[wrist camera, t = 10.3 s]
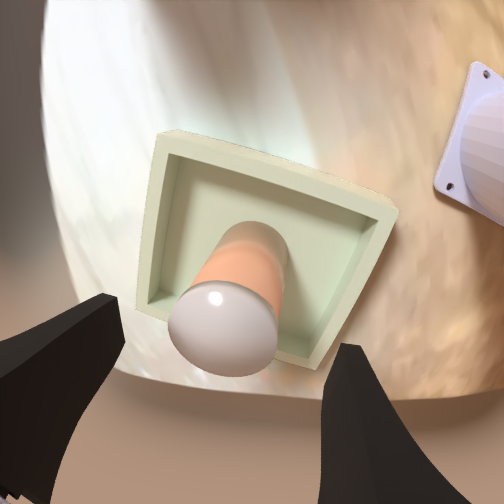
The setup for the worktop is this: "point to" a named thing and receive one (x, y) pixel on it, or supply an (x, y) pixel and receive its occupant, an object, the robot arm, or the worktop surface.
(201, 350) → the shaker
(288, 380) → the worktop surface
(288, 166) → the tray
